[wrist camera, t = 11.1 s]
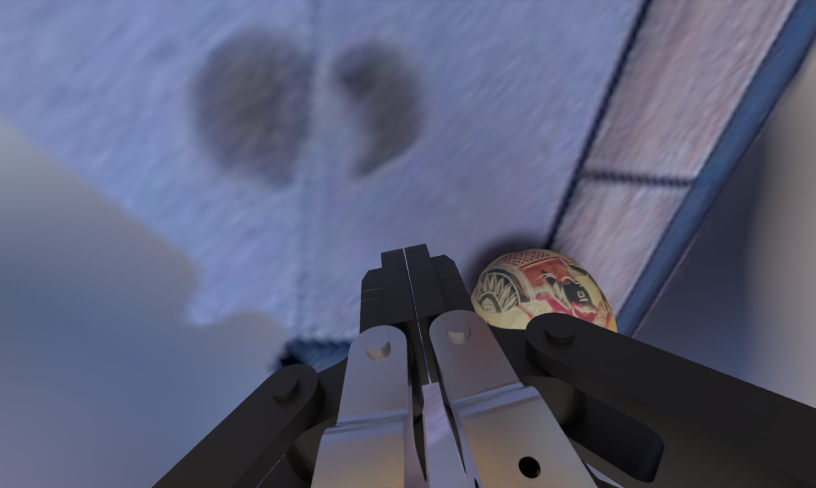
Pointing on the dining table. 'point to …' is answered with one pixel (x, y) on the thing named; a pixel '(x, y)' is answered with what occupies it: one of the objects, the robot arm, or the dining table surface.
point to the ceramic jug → (540, 295)
